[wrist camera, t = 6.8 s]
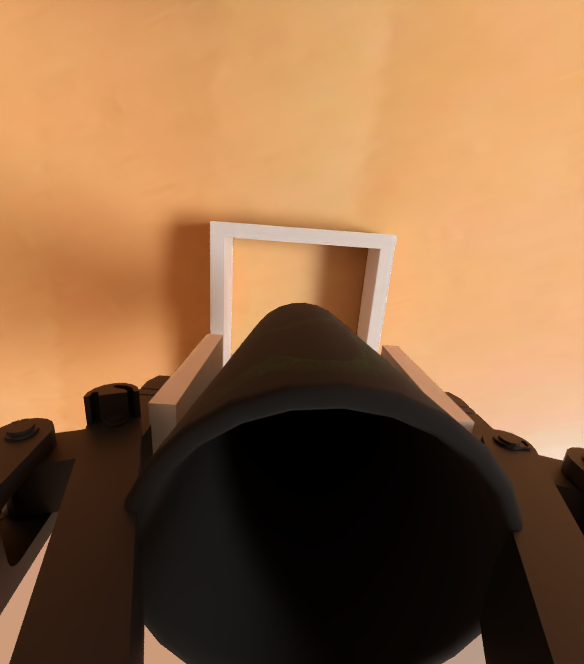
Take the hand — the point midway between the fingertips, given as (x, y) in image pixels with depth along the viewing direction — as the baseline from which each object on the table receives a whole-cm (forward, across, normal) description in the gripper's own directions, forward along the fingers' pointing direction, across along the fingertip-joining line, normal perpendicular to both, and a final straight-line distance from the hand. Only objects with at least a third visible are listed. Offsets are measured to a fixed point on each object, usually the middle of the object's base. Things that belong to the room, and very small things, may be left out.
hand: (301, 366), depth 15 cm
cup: (+2, 0, 0) cm, 2 cm away
